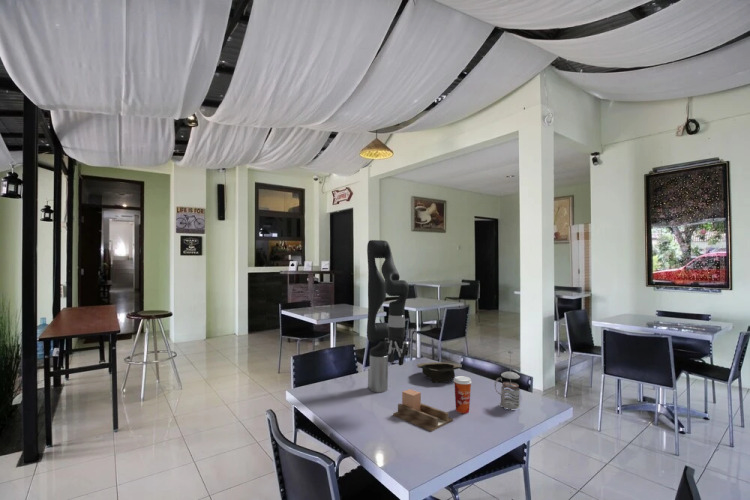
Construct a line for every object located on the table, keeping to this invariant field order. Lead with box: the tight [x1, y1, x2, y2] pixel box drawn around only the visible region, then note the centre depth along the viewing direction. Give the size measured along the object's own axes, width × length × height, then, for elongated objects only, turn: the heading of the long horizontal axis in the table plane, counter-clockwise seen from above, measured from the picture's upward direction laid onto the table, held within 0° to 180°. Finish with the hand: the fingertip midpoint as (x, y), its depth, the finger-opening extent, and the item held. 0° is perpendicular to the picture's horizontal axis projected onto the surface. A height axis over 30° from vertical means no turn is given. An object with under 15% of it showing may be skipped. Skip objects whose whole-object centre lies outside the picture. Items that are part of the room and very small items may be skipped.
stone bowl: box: [416, 361, 463, 384], centre depth 209 cm, size 25×25×9 cm
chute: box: [392, 403, 454, 432], centre depth 155 cm, size 20×14×4 cm
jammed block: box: [401, 388, 422, 411], centre depth 159 cm, size 6×5×8 cm
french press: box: [494, 349, 521, 409], centre depth 169 cm, size 10×12×25 cm
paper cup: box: [453, 375, 472, 414], centre depth 163 cm, size 8×8×14 cm
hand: (396, 363), depth 166 cm, fingers open, 5 cm apart
